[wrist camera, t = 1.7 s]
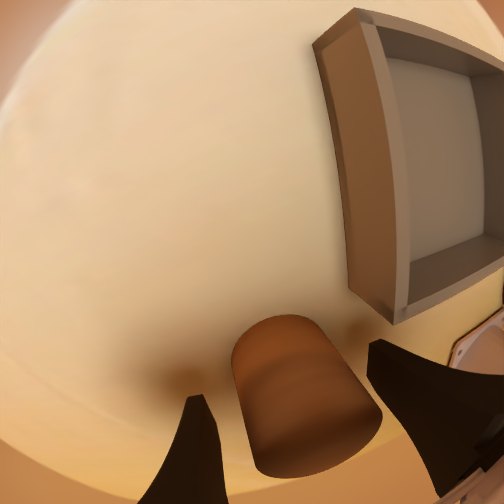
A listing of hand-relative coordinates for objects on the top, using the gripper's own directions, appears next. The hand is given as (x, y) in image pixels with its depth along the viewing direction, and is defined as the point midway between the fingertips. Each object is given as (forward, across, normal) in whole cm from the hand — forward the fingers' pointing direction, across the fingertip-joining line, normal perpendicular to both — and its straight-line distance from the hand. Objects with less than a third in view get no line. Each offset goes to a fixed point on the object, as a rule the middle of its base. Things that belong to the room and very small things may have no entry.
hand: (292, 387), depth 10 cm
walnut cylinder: (+2, 0, 0) cm, 2 cm away
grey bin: (+2, -9, -8) cm, 12 cm away
